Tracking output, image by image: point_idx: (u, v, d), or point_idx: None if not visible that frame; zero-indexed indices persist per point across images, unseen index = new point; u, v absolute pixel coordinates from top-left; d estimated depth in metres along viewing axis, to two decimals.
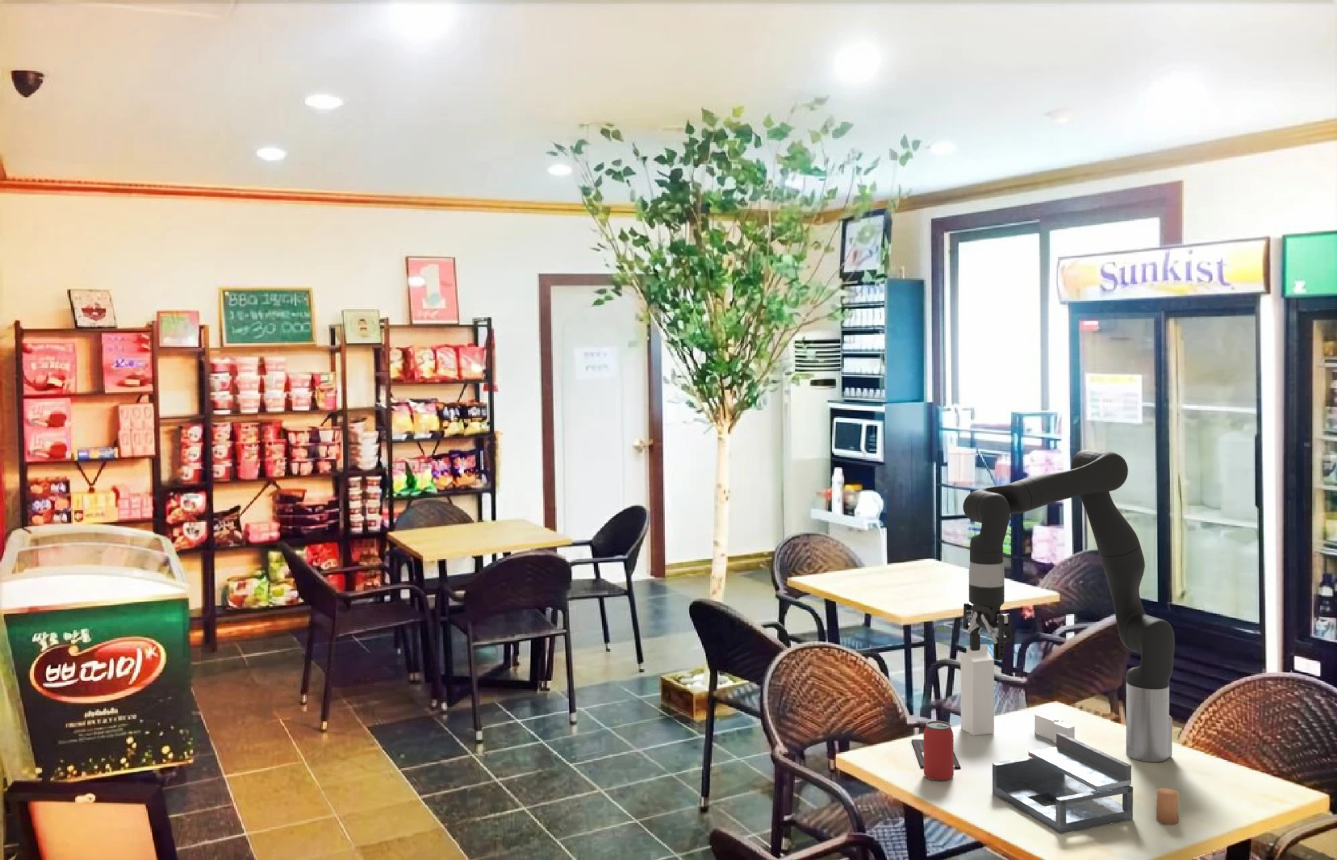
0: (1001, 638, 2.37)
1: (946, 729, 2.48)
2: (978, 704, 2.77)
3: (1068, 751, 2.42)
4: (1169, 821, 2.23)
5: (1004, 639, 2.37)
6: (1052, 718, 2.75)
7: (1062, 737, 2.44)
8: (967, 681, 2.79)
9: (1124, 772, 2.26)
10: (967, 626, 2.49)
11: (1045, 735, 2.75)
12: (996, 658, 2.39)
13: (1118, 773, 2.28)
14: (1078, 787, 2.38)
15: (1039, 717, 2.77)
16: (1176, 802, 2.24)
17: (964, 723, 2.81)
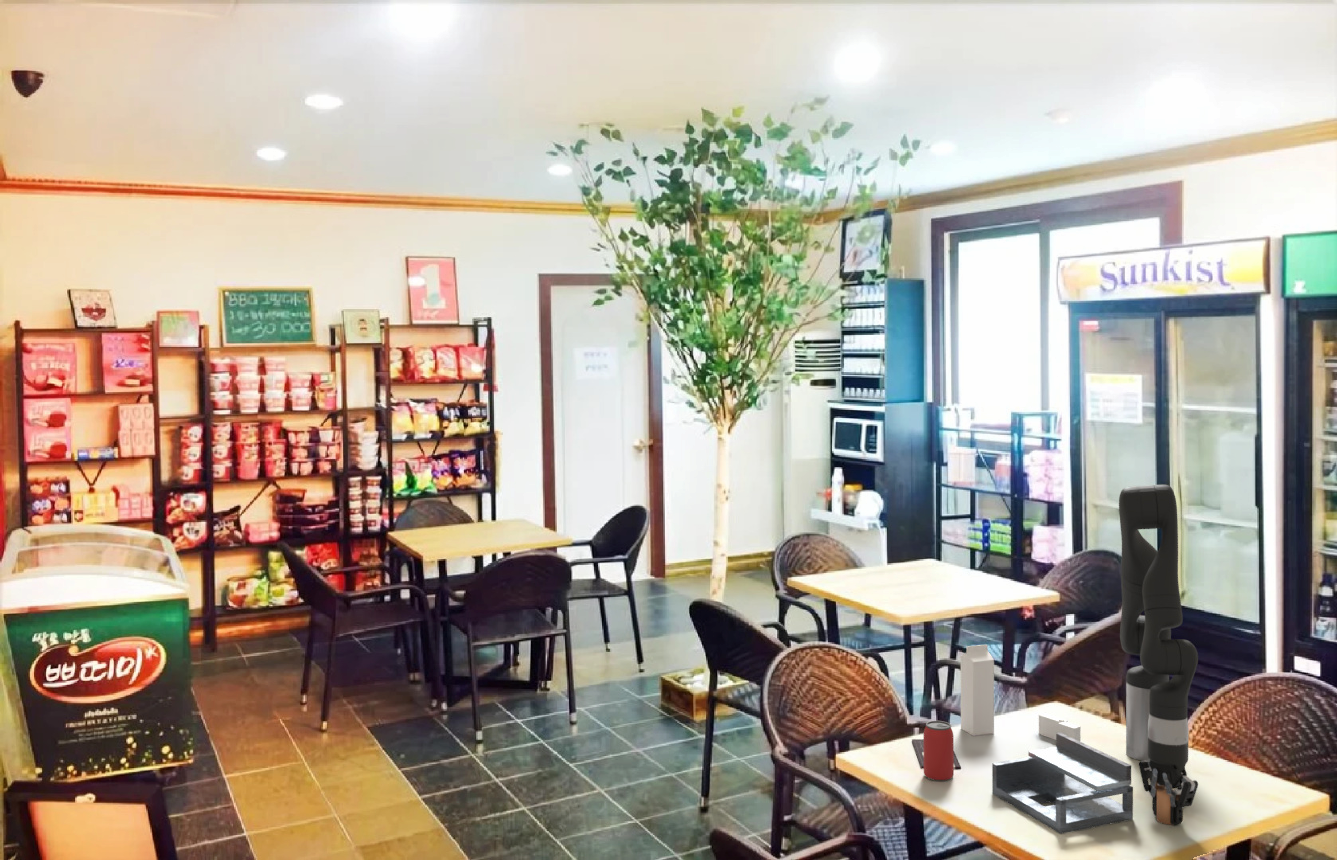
0: (1181, 804, 2.20)
1: (946, 729, 2.48)
2: (978, 704, 2.77)
3: (1068, 751, 2.42)
4: (1169, 821, 2.23)
5: (1184, 804, 2.20)
6: (1057, 718, 2.74)
7: (1062, 737, 2.44)
8: (967, 681, 2.79)
9: (1124, 772, 2.26)
10: (1149, 787, 2.29)
11: (1050, 735, 2.75)
12: (1174, 823, 2.23)
13: (1118, 773, 2.28)
14: (1078, 787, 2.38)
15: (1043, 717, 2.76)
16: None
17: (964, 723, 2.81)
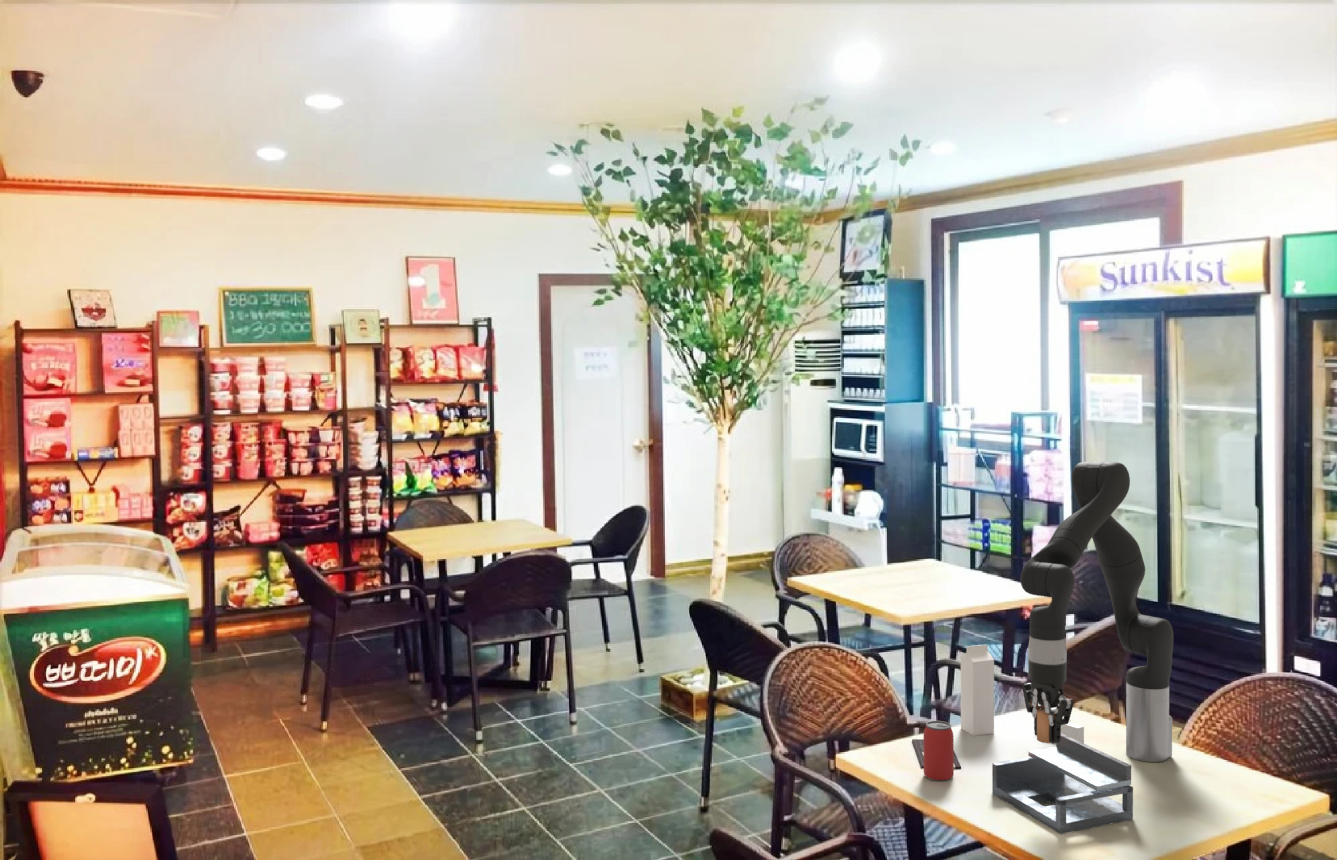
0: (1058, 722, 2.26)
1: (946, 729, 2.48)
2: (978, 704, 2.77)
3: (1068, 751, 2.42)
4: (1048, 740, 2.29)
5: (1061, 722, 2.26)
6: None
7: (1062, 737, 2.44)
8: (967, 681, 2.79)
9: (1124, 772, 2.26)
10: (1031, 708, 2.34)
11: None
12: (1052, 741, 2.29)
13: (1118, 773, 2.28)
14: (1078, 787, 2.38)
15: None
16: None
17: (964, 723, 2.81)
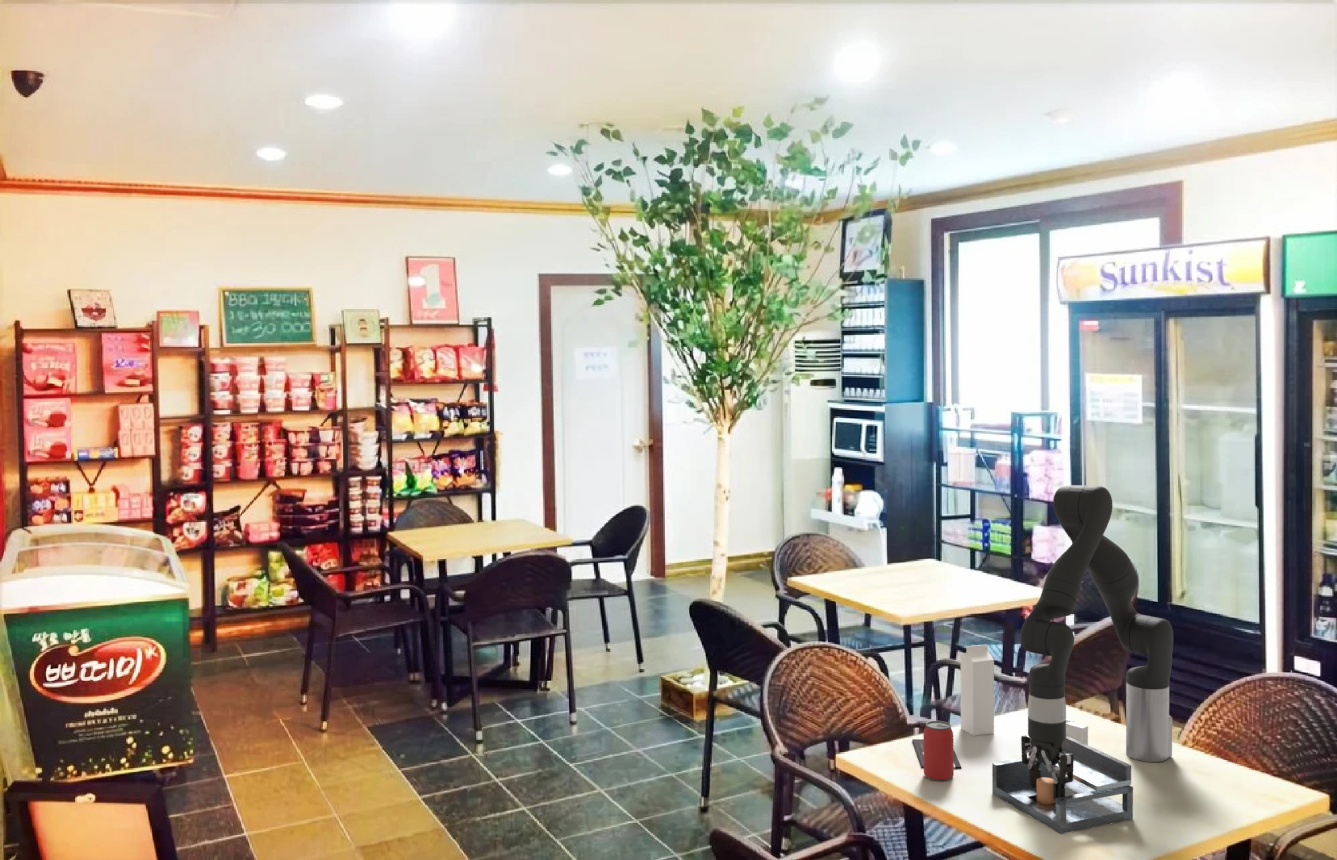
0: (1062, 779, 2.25)
1: (946, 729, 2.48)
2: (978, 704, 2.77)
3: (1068, 751, 2.42)
4: None
5: (1065, 780, 2.25)
6: None
7: None
8: (967, 681, 2.79)
9: (1124, 772, 2.26)
10: (1026, 761, 2.37)
11: None
12: None
13: (1118, 773, 2.28)
14: (1078, 787, 2.38)
15: None
16: None
17: (964, 723, 2.81)
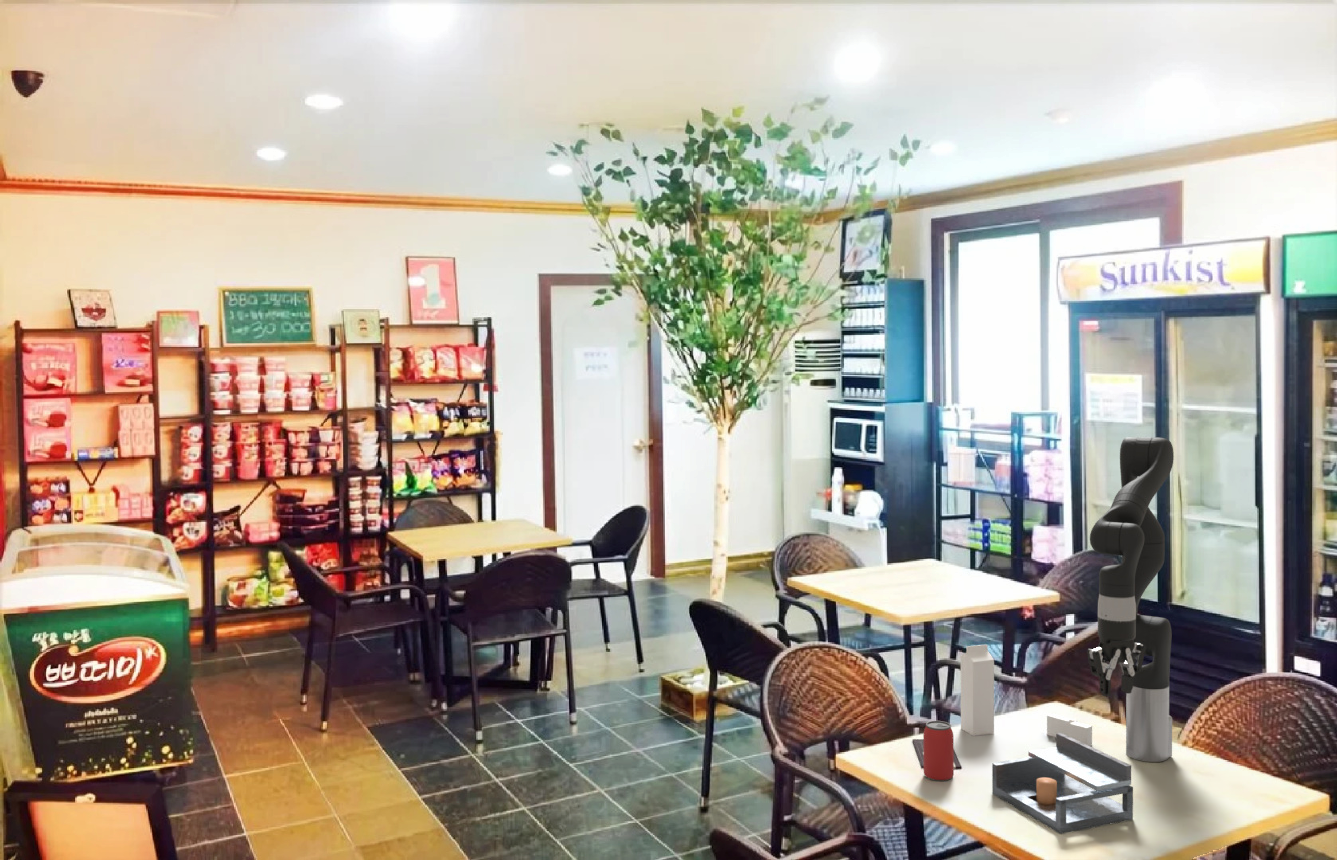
0: None
1: (946, 729, 2.48)
2: (978, 704, 2.77)
3: (1068, 751, 2.42)
4: None
5: (1093, 672, 2.35)
6: (1066, 718, 2.74)
7: (1062, 737, 2.44)
8: (967, 681, 2.79)
9: (1124, 772, 2.26)
10: None
11: None
12: (1101, 692, 2.37)
13: (1118, 773, 2.28)
14: (1078, 787, 2.38)
15: (1052, 718, 2.76)
16: (1054, 791, 2.30)
17: (964, 723, 2.81)
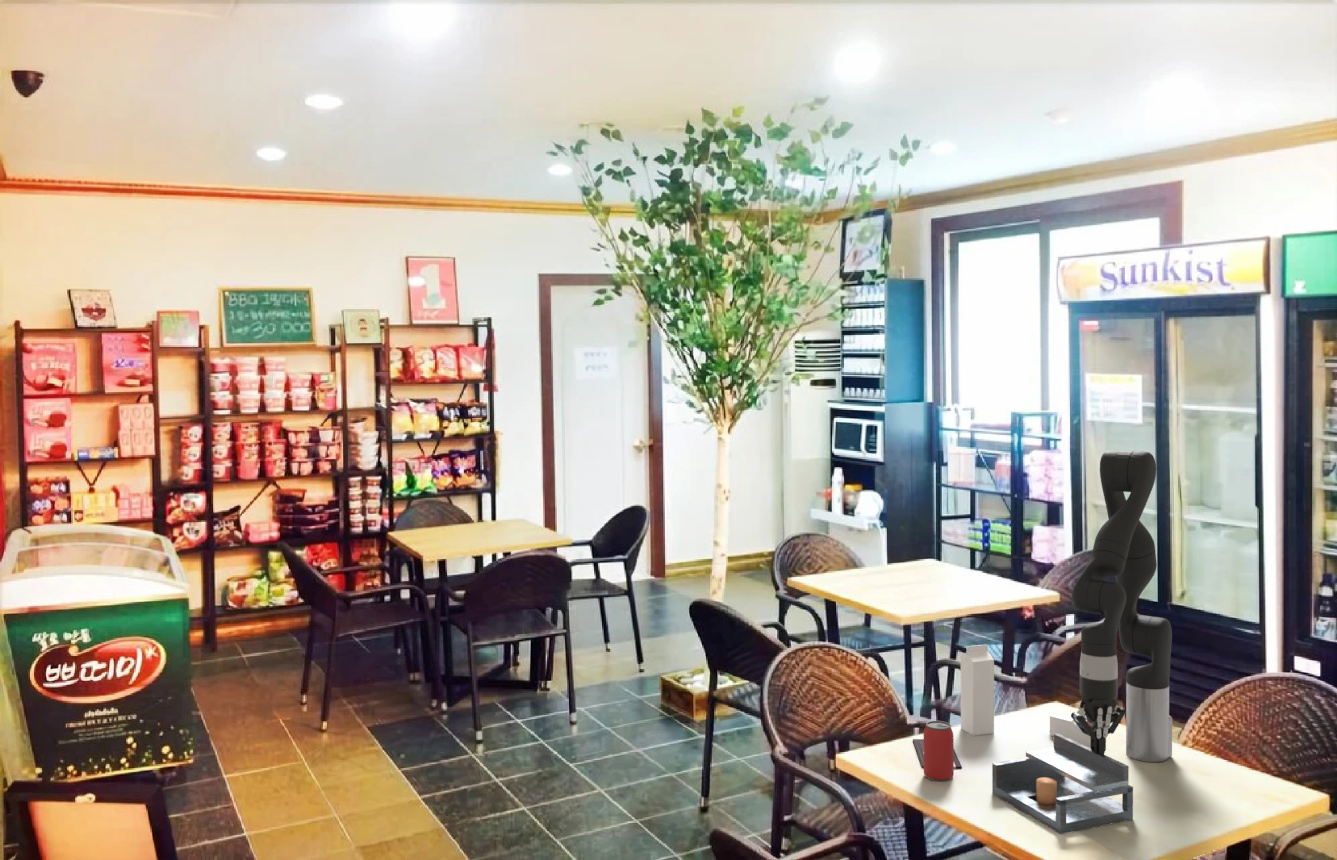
0: None
1: (946, 729, 2.48)
2: (978, 704, 2.77)
3: (1065, 751, 2.42)
4: None
5: (1084, 731, 2.35)
6: (1069, 719, 2.74)
7: (1059, 737, 2.43)
8: (967, 681, 2.79)
9: (1121, 773, 2.26)
10: None
11: None
12: None
13: (1115, 773, 2.27)
14: (1078, 787, 2.38)
15: (1055, 718, 2.75)
16: (1054, 791, 2.30)
17: (964, 723, 2.81)
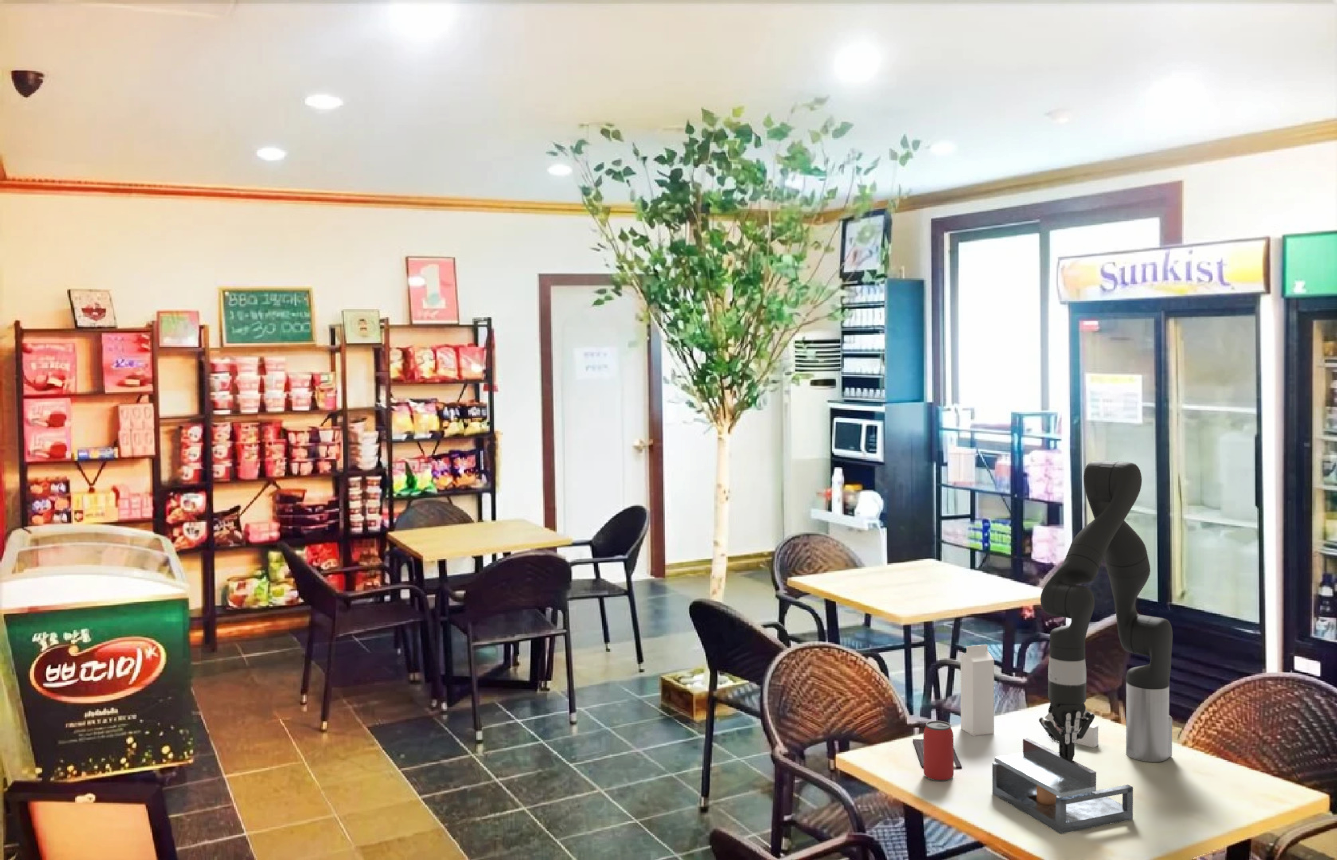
0: None
1: (946, 729, 2.48)
2: (978, 704, 2.77)
3: (1034, 757, 2.39)
4: None
5: (1052, 736, 2.32)
6: None
7: (1029, 743, 2.41)
8: (967, 681, 2.79)
9: (1089, 778, 2.23)
10: None
11: None
12: None
13: (1083, 779, 2.25)
14: None
15: None
16: None
17: (964, 723, 2.81)
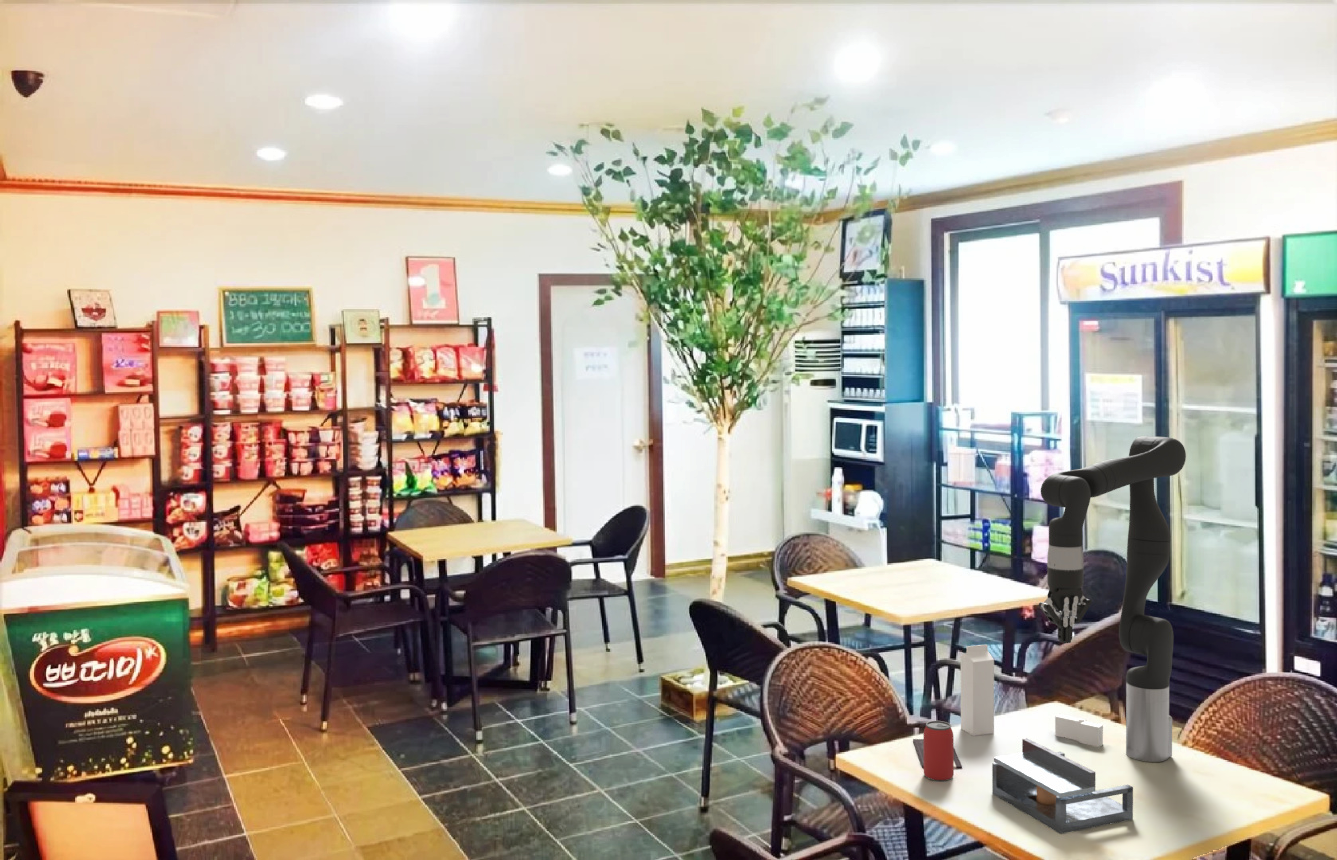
0: None
1: (946, 729, 2.48)
2: (978, 704, 2.77)
3: (1034, 757, 2.39)
4: None
5: (1051, 620, 2.46)
6: (1075, 718, 2.74)
7: (1028, 743, 2.40)
8: (967, 681, 2.79)
9: (1088, 779, 2.23)
10: None
11: (1068, 736, 2.74)
12: (1059, 639, 2.47)
13: (1082, 780, 2.25)
14: None
15: (1061, 719, 2.75)
16: None
17: (964, 723, 2.81)
